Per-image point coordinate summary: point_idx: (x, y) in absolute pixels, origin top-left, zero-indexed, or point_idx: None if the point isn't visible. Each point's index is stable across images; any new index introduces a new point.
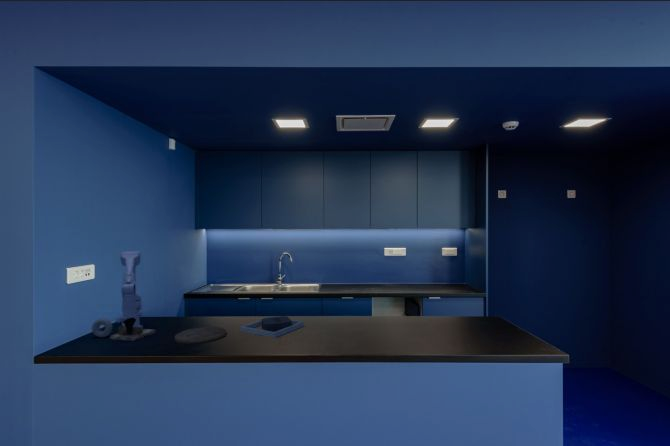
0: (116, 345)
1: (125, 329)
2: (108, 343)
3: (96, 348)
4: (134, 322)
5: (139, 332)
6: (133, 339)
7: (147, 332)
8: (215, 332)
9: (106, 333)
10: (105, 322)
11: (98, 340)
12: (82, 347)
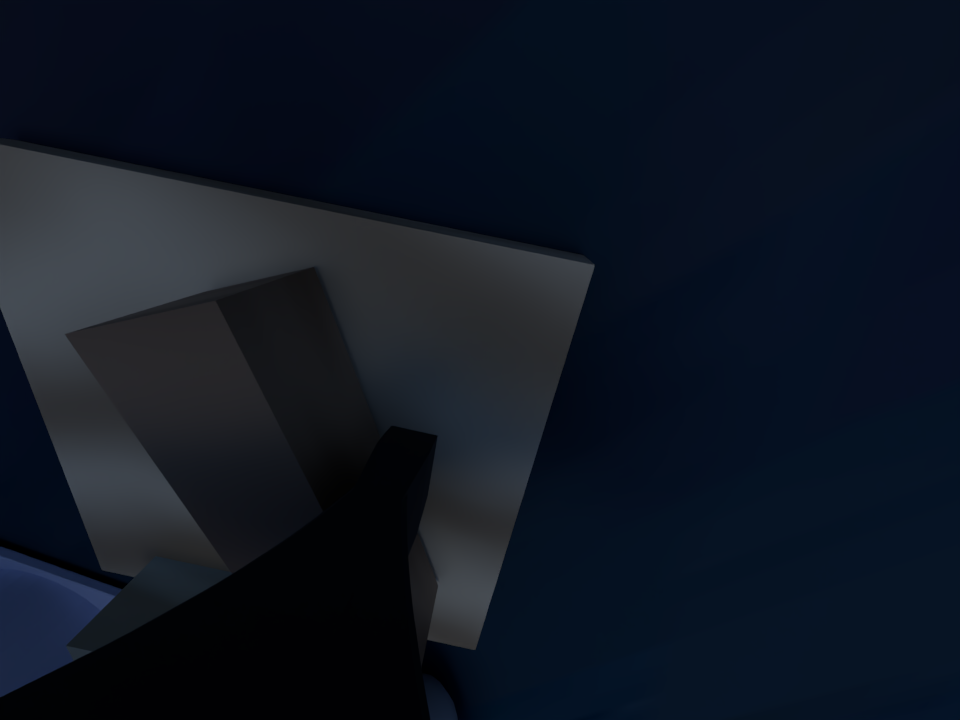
0: (829, 384)
1: None
2: (678, 540)
3: (905, 562)
4: (160, 630)
5: (305, 298)
6: (568, 254)
7: (160, 192)
8: None
9: (435, 712)
10: None
11: (539, 671)
12: (792, 690)
